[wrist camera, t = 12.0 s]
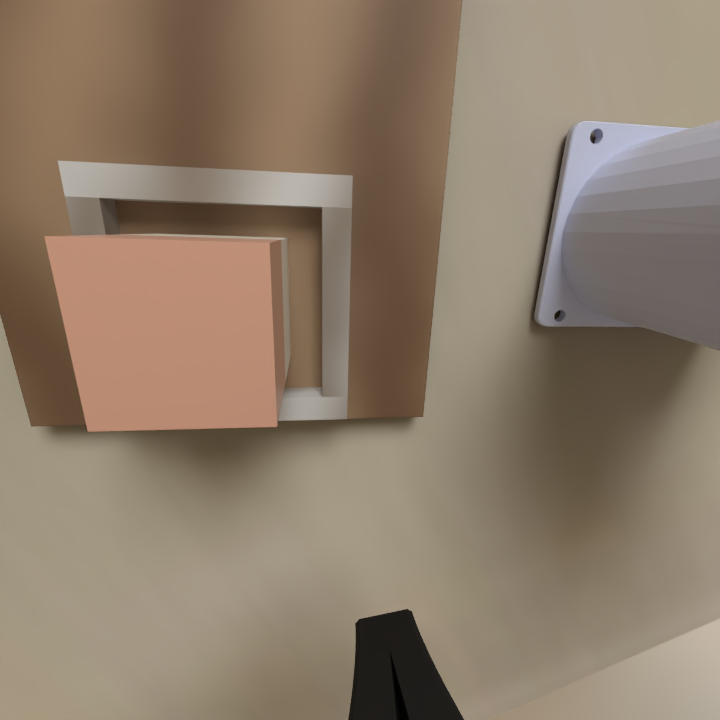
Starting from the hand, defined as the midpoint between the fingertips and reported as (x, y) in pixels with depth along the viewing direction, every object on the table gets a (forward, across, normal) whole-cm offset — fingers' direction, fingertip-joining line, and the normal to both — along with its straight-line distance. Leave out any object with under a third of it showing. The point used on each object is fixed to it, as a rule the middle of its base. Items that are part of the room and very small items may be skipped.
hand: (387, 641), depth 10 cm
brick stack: (+8, +4, -8) cm, 12 cm away
